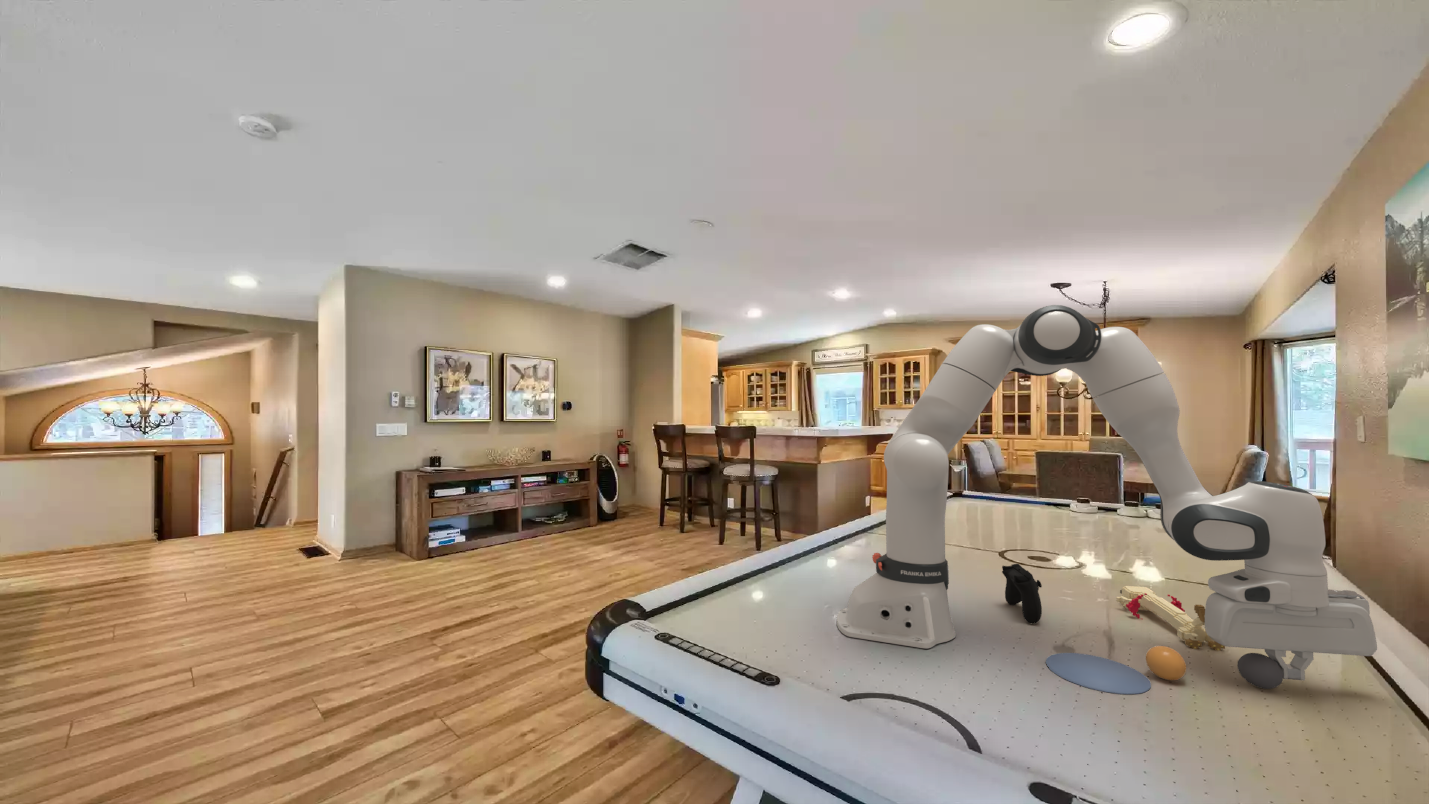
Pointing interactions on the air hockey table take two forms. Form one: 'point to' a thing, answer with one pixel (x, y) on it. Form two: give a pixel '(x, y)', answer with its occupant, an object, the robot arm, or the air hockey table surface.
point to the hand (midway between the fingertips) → (1289, 678)
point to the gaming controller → (1023, 591)
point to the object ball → (1166, 663)
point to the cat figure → (1169, 614)
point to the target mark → (1098, 673)
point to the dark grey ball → (1260, 670)
